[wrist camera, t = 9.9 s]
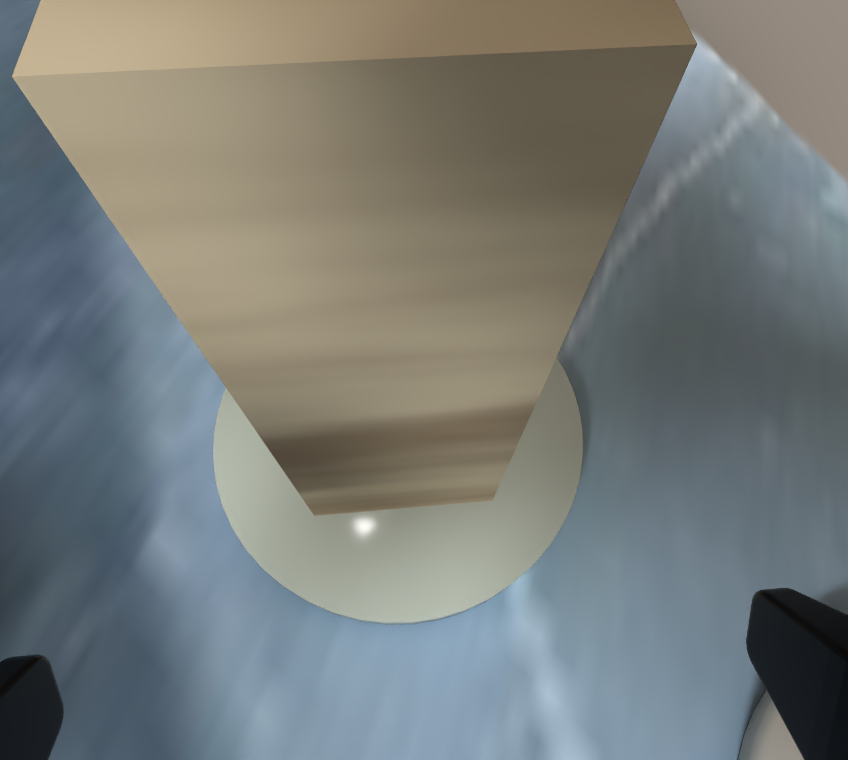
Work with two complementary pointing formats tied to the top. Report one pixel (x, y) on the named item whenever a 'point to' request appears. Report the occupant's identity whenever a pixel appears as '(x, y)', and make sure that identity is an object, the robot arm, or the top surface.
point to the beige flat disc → (768, 735)
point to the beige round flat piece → (404, 523)
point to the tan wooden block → (365, 205)
